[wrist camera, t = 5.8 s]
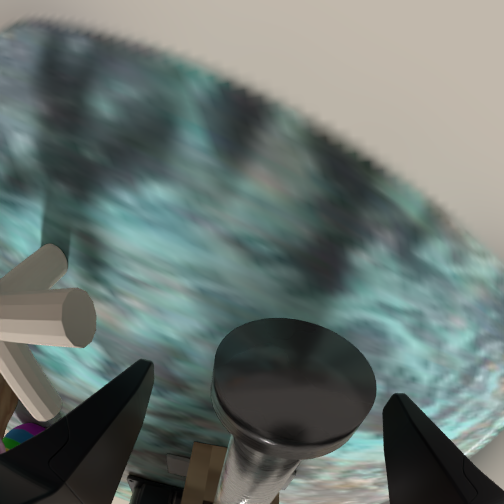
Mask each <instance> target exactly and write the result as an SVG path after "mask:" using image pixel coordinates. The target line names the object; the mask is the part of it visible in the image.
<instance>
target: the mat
mask: <svg viewBox="0 0 504 504" xmlns="http://www.w3.org/2000/svg"><path fill="white" fill-rule="evenodd" d="M189 463H190V459H188V458H184V457H179V456H175V455H170V454H167V467H168V473H171V474H175V475H179V476H184V477H187V472H188V467H189ZM295 475H296V472H293V473H292V474H291V476H290V477H289V479H288V480H287V481H286V483H285V484H284V486H283V487H282V488H281V490H285V489H286V488H287V486H288V485H289V484H290V482H291V481H292V480H293V478H294V477H295Z"/></svg>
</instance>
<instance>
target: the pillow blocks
mask: <svg viewBox="0 0 504 504" xmlns="http://www.w3.org/2000/svg"><path fill="white" fill-rule="evenodd" d="M227 449H228V448H227V447H221V446H215V445H209V444H204V443H199V442H194V444H193V449H192V453H191V458H190V463H189V467H188V472H187V477H186V481H185V486H184V491H183V496H182V500H181V504H213V502H214V499H215V495H216V491H217V487H218V484H219V480H220V476H221V472H222V468H223V464H224V461H225V457H226V453H227ZM270 504H279V492H278V494H277V495H276V496H275V498H274V499H273V500H272V502H271V503H270Z"/></svg>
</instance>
